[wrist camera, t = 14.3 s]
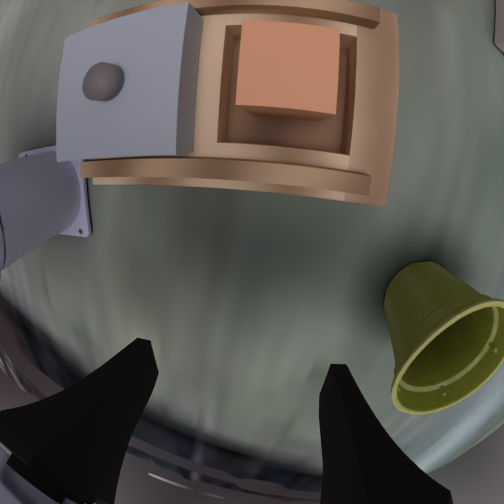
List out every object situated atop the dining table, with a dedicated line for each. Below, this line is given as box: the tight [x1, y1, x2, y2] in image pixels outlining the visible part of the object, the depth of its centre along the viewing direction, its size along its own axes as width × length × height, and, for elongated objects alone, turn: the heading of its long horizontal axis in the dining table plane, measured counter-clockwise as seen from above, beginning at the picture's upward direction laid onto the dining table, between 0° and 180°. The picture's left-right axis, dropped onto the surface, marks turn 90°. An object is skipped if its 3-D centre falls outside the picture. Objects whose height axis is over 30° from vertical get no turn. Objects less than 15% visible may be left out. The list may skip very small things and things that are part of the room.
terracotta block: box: [235, 21, 340, 122], centre depth 12 cm, size 4×4×6 cm
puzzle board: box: [80, 0, 399, 207], centre depth 13 cm, size 18×12×4 cm, turn 87°
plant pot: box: [384, 261, 504, 414], centre depth 15 cm, size 9×9×9 cm
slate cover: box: [56, 2, 203, 162], centre depth 11 cm, size 8×8×4 cm
